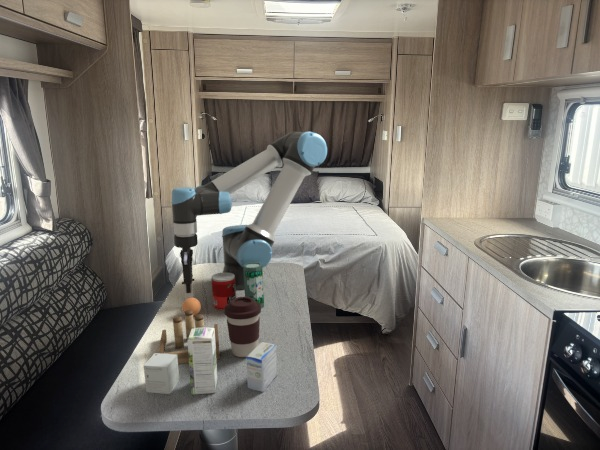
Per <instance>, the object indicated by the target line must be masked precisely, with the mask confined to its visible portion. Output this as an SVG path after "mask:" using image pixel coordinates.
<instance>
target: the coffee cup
mask: <svg viewBox="0 0 600 450" xmlns="http://www.w3.org/2000/svg"><path fill="white" fill-rule="evenodd" d="M223 312H224V315H225V316H226V318H227V319H226V324H227V325H226V326H227V332H228V339H229V341H230V345H231V346H230V347H231V353H232V354H233V355H234V356H235V357H238V358H246V357H247V356H248V355H249V354H250V353H251V352H252V351H253V350H254V349H255V348H256V347H257V346H258V345H259V338H260V325H261V324H260V322H261V320H260V314H261V312H262V308H261V305H260V303H258V302H256V301H255V300H254V299H253V298H251V297H245V296H240V297H236V298H234V299H232V300H231V301H230V303H229V304H227V305H226V306H225V308H224V310H223Z"/></svg>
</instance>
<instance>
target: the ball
mask: <svg viewBox="0 0 600 450" xmlns="http://www.w3.org/2000/svg"><path fill="white" fill-rule="evenodd" d="M181 305H182V306H181V309H182V312H183V313H184V312H185V311H186V310H192V311H193V317H195V316H196V315H199V313H200V311H201V309H202V306H201V302H200V300H198V298H195V297H194V298H188V299H186V300H184V301H183V302H182V304H181Z"/></svg>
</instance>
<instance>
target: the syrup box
mask: <svg viewBox="0 0 600 450" xmlns="http://www.w3.org/2000/svg"><path fill="white" fill-rule="evenodd" d="M187 350H188V356H189V362H188V367H189V368H188V369H189V370H188V371H189V380H190V394H191V395H193V396H194V395H204V394H205V395H206V394H207V395H208V394H215V393H216V389H217V384H218V365H217V364H218V362H217V359H216V344H215V328H214V327H204V328H195V327H194V329H191V332H190V335H189V338H188V341H187Z"/></svg>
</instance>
